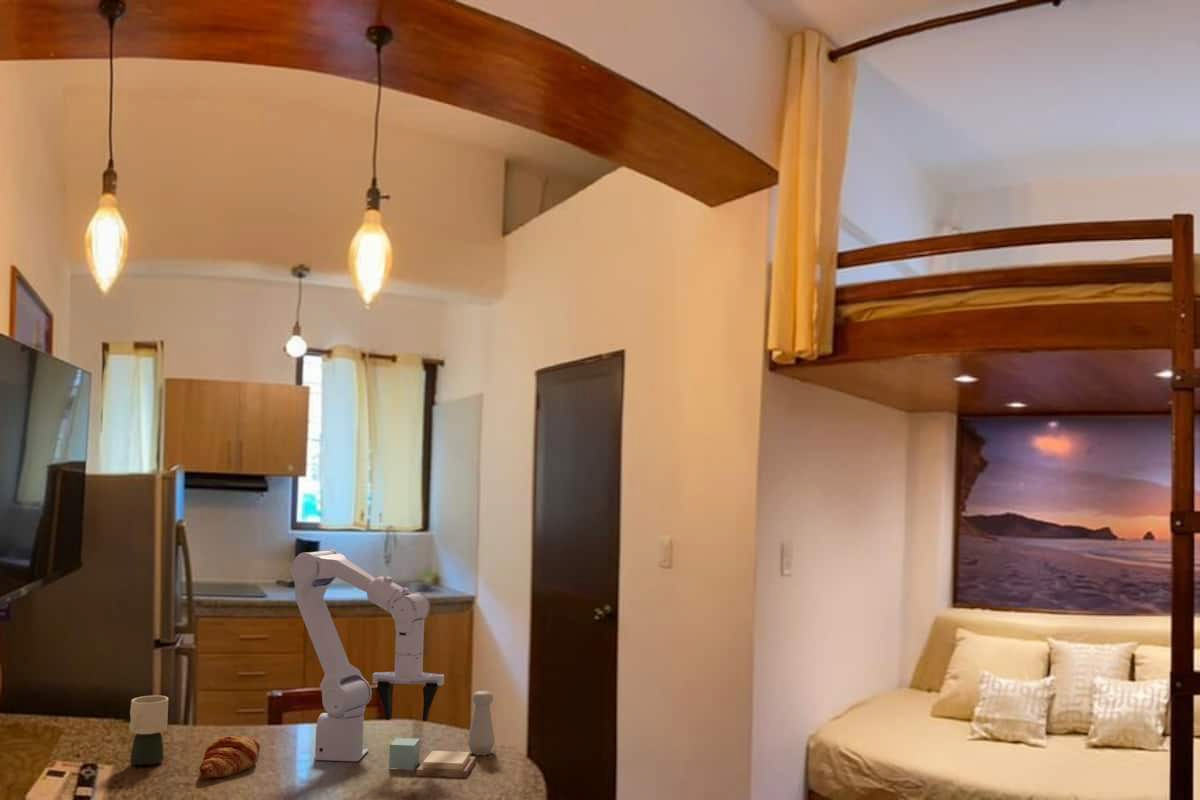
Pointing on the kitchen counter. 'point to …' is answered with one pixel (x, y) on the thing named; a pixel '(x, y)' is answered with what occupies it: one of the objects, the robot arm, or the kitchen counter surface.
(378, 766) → the kitchen counter surface
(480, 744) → the salt shaker
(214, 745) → the croissant
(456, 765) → the wooden base
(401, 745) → the teal block
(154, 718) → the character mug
